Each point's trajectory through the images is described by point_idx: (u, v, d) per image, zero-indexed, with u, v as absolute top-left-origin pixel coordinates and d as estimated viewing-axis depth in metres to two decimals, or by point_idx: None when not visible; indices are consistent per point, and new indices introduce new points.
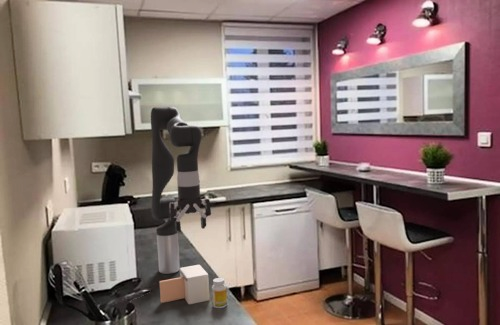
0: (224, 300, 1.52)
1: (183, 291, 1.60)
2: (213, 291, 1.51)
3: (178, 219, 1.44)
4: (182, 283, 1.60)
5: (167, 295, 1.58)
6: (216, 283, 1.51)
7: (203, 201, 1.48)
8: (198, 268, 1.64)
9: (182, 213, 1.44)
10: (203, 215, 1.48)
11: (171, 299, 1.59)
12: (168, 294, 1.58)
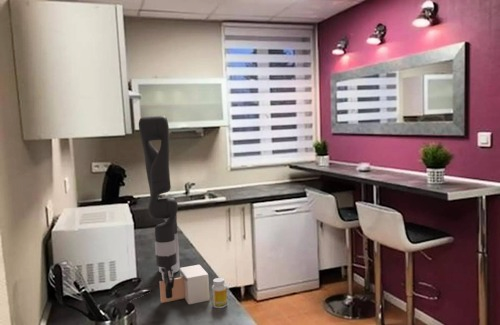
0: (224, 300, 1.52)
1: (183, 291, 1.60)
2: (213, 291, 1.51)
3: None
4: (182, 283, 1.60)
5: None
6: (216, 283, 1.51)
7: None
8: (198, 268, 1.64)
9: None
10: None
11: (171, 299, 1.59)
12: None
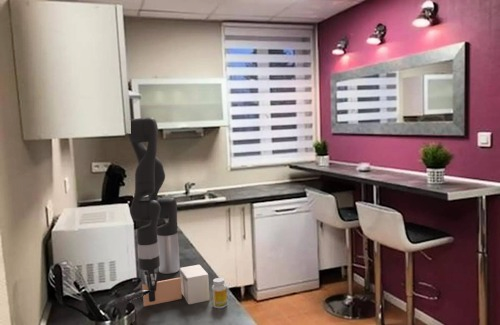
0: (224, 300, 1.52)
1: (167, 294, 1.58)
2: (213, 291, 1.51)
3: None
4: (165, 286, 1.57)
5: None
6: (216, 283, 1.51)
7: None
8: (198, 268, 1.64)
9: None
10: None
11: (154, 302, 1.56)
12: None
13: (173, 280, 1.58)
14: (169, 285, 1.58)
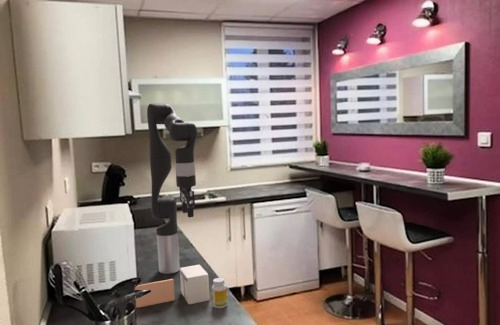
0: (224, 300, 1.52)
1: (159, 296, 1.57)
2: (213, 291, 1.51)
3: None
4: (158, 287, 1.56)
5: (142, 300, 1.54)
6: (216, 283, 1.51)
7: None
8: (198, 268, 1.64)
9: None
10: None
11: (147, 304, 1.55)
12: (144, 298, 1.55)
13: (166, 281, 1.57)
14: (162, 286, 1.57)
